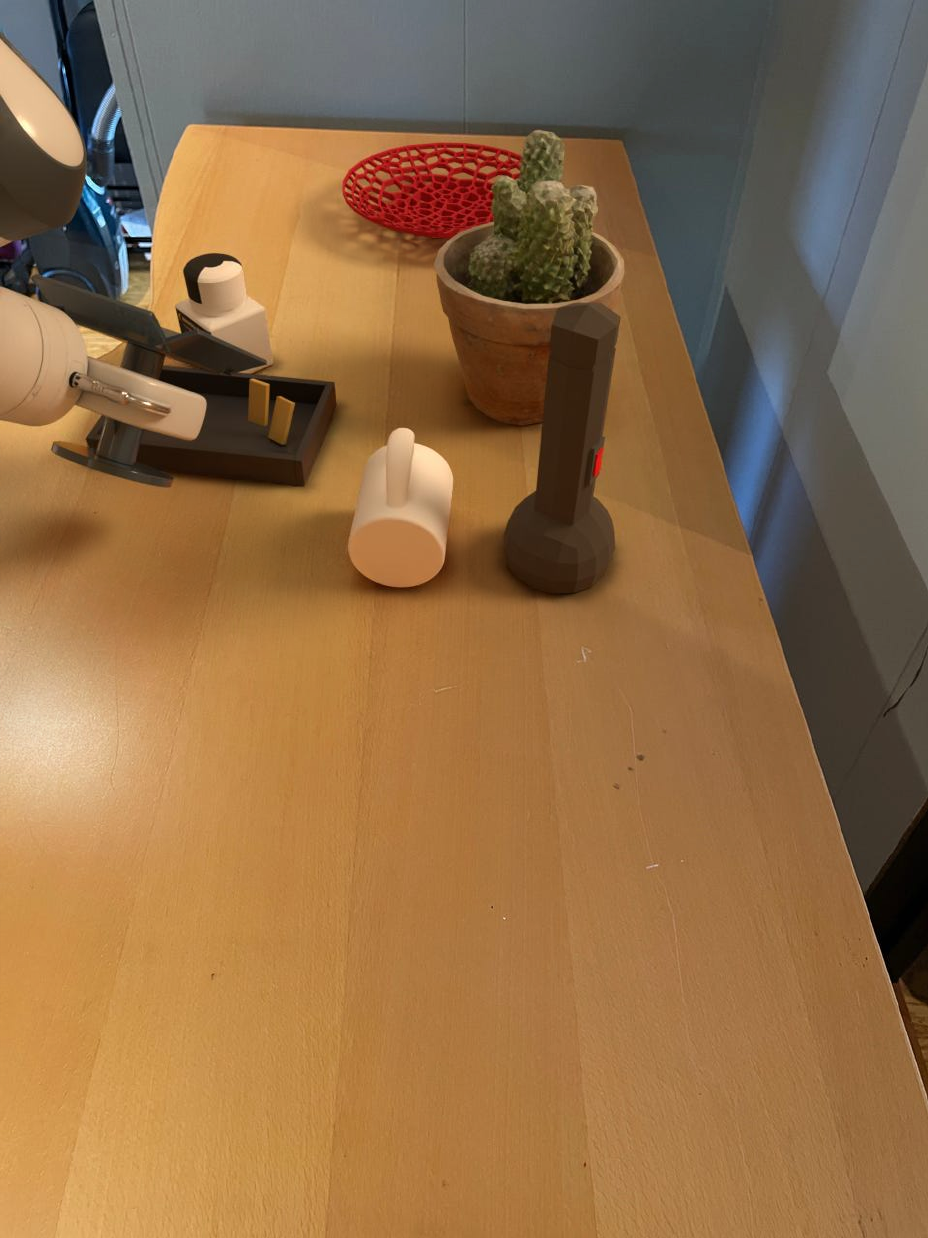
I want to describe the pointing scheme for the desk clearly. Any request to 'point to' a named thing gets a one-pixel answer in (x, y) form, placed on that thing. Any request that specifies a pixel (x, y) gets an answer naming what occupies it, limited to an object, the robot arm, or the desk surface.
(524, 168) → the potted plant
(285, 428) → the key
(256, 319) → the medicine bottle
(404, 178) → the bowl
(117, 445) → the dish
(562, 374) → the flashlight
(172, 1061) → the desk surface
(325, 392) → the tray
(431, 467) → the mug
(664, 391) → the desk surface
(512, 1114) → the desk surface
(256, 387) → the orange rectangular block
